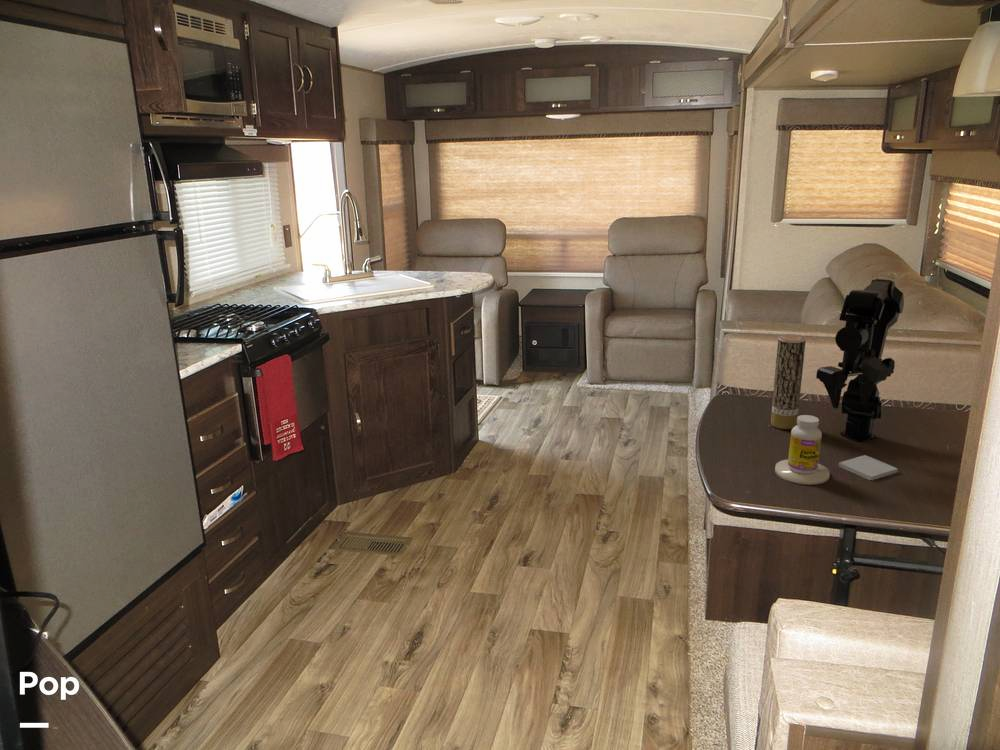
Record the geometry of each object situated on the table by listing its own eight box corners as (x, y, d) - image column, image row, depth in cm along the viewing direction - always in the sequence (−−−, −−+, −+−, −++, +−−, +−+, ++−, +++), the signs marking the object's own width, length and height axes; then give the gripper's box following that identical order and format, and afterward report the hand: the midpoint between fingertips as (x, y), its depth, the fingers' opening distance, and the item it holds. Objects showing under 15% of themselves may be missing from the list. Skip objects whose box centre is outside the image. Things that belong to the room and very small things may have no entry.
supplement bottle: (795, 476, 175) (800, 424, 171) (782, 464, 182) (787, 414, 178) (822, 474, 176) (829, 422, 172) (809, 462, 182) (815, 412, 178)
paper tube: (774, 419, 212) (782, 333, 204) (799, 424, 208) (808, 336, 200) (767, 427, 207) (775, 338, 199) (792, 432, 203) (801, 342, 195)
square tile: (864, 458, 186) (865, 454, 185) (897, 472, 178) (897, 468, 178) (838, 466, 182) (839, 462, 182) (870, 480, 174) (871, 476, 174)
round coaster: (800, 459, 187) (800, 455, 186) (840, 477, 176) (841, 473, 176) (763, 469, 182) (764, 465, 181) (803, 489, 171) (803, 485, 171)
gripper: (856, 354, 170) (847, 420, 174) (915, 347, 177) (905, 410, 181) (818, 344, 180) (810, 406, 184) (875, 337, 187) (867, 398, 191)
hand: (849, 405), depth 185 cm, fingers open, 9 cm apart
